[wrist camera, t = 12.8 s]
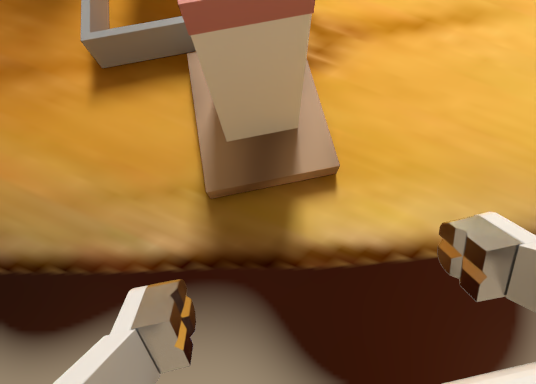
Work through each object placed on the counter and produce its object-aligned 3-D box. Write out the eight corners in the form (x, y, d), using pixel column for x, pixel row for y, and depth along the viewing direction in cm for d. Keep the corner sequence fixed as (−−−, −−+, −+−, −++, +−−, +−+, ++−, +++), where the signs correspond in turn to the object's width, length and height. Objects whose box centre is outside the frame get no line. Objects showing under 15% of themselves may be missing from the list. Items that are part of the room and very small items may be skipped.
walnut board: (210, 198, 18) (206, 192, 17) (191, 66, 21) (186, 53, 20) (336, 173, 18) (339, 165, 17) (297, 46, 22) (298, 33, 21)
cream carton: (226, 142, 18) (178, 4, 9) (215, 82, 19) (166, -84, 11) (298, 128, 18) (317, -21, 9) (282, 70, 20) (286, -104, 11)
